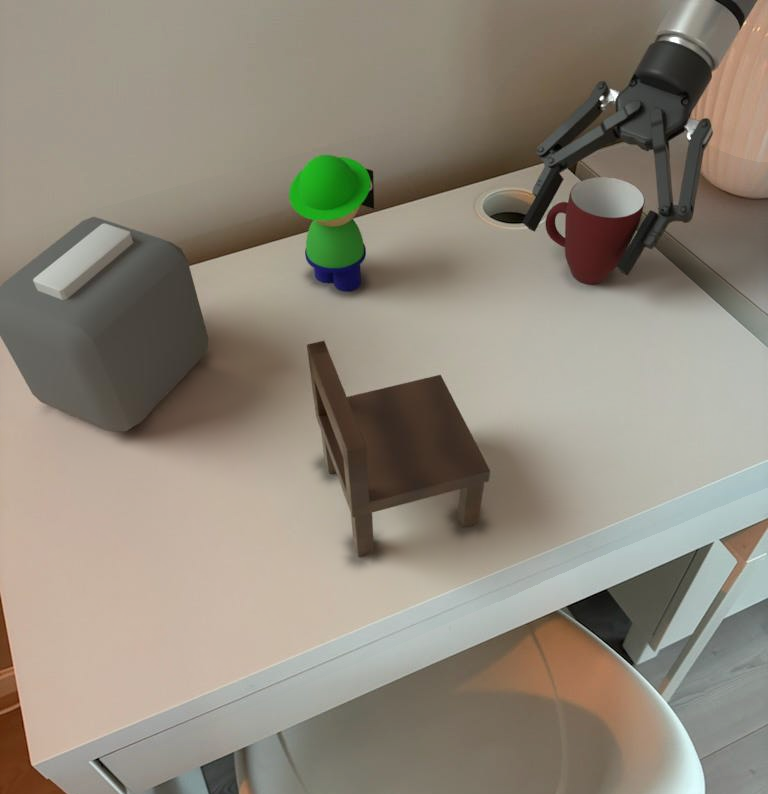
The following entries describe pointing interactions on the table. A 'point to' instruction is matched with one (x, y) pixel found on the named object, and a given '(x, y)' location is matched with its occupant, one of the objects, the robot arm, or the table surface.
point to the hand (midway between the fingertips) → (573, 248)
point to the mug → (597, 226)
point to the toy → (333, 216)
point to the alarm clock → (103, 323)
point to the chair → (394, 446)
